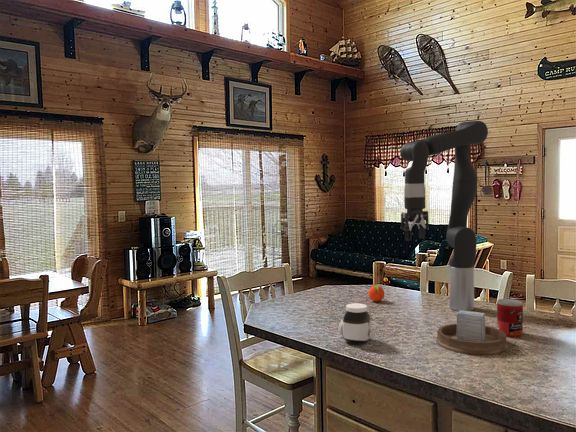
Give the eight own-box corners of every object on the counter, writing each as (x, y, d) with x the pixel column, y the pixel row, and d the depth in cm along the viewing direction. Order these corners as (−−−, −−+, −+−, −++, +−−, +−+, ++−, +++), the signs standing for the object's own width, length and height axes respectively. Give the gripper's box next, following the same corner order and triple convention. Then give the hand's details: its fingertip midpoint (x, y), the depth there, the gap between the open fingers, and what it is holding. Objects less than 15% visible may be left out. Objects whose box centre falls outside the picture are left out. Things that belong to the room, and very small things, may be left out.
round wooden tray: (458, 329, 166) (457, 319, 166) (519, 343, 150) (519, 332, 150) (423, 343, 152) (423, 332, 152) (487, 360, 136) (487, 348, 136)
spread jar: (362, 347, 150) (361, 310, 149) (329, 341, 156) (329, 306, 155) (376, 336, 160) (375, 302, 159) (345, 332, 166) (344, 298, 165)
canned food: (512, 339, 155) (512, 305, 154) (491, 332, 162) (491, 300, 161) (528, 335, 158) (528, 302, 157) (507, 329, 165) (507, 297, 164)
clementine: (386, 303, 204) (386, 287, 204) (370, 304, 204) (370, 287, 204) (382, 299, 212) (382, 283, 212) (367, 299, 212) (367, 283, 212)
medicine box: (485, 339, 151) (485, 312, 151) (482, 343, 147) (482, 316, 147) (459, 336, 155) (459, 309, 155) (456, 340, 152) (456, 313, 151)
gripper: (417, 195, 184) (417, 237, 185) (394, 196, 175) (395, 240, 176) (434, 195, 178) (434, 238, 179) (412, 196, 169) (412, 242, 170)
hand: (415, 239), depth 178 cm, fingers open, 8 cm apart
